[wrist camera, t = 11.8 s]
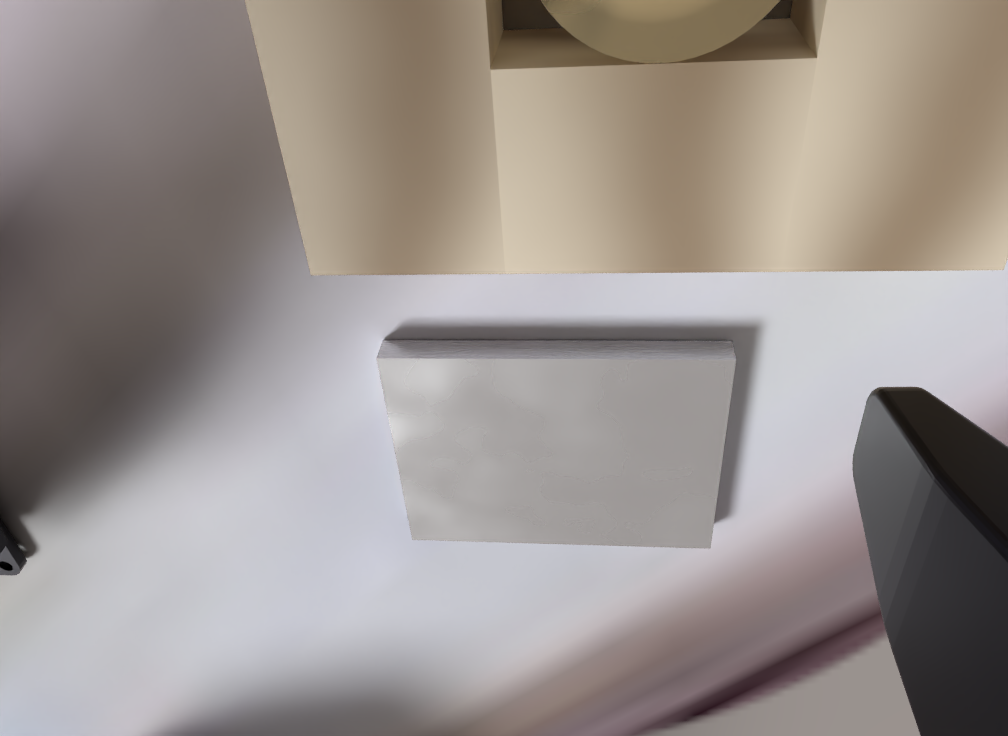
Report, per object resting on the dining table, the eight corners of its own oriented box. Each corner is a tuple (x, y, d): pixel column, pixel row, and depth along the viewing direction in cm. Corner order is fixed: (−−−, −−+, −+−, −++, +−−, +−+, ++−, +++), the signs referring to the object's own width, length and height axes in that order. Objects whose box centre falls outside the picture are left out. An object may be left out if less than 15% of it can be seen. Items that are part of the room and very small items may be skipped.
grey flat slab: (416, 520, 26) (412, 539, 25) (382, 340, 22) (376, 358, 21) (707, 527, 25) (710, 548, 24) (732, 340, 20) (736, 359, 20)
